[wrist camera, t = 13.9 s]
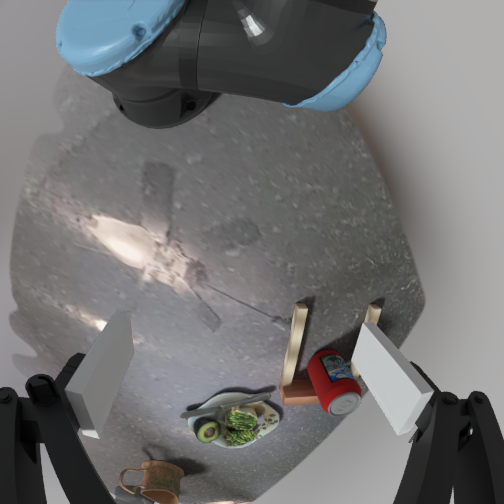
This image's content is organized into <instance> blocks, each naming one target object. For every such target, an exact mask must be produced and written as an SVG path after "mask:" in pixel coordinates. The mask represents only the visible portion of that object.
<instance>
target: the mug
mask: <svg viewBox="0 0 504 504" xmlns="http://www.w3.org/2000/svg"><path fill="white" fill-rule="evenodd" d="M127 470H129V471H141V470H144V477H143V483H142V485H138V486H135V487H134V488H133V490H132V491H131V490H129V489H128V488H126V487H125V486H124V485H123V483H122V479H123V475H124V473H125V472H126V471H127ZM183 477H184V471H183V470H182V469H181V468H180V467H178V466H176V465H174V464H172V463H169V462H165V461H160V460H148V461H145V462H143V464H142V469H138V470H135V469H125V470H124V471H122V473H121V475H120V478H119V484H120V486H121V487H122V488H123V489H124V490H126V491H128V492H130V493H132V494H135V492H136V489H137V487H141V488H142V489H141V494H142V495H144V496H146V497H148V498H149V499H151V500H153V501H155V502H157V503H159V504H178V501H179V500H178V499H179V488H180V479H181V478H183Z"/></svg>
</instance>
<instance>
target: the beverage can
mask: <svg viewBox="0 0 504 504" xmlns="http://www.w3.org/2000/svg"><path fill="white" fill-rule="evenodd" d="M307 371H308V374H309V377H310V379H311V382H312V384H313V387H314V389H315V392H316V394H317V397H318V399H319V401H320V404H321V406H322V408H323V410H324V411H326V412H327V413H329V414H330V415H331V416H333V417H343V416H346V415H349V414H351V413H352V412H354V411H355V410H356V409H357V408H358V407H359V405H360V403H361V388H360V386H359V385H358V383H357V381H356V379H355V378H354V376H353V374H352V373H351V371H350V369H349V368H348V366H347V365H346V363H345V361H344V360H343V358H342V357H341V355H340V354H339V353H338V352H337V351H334V350H324V351H321V352H319V353H317V354H316V355H314V356H313V357H312V358H311V359H310V361H309V363H308V365H307Z"/></svg>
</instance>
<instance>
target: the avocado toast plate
mask: <svg viewBox="0 0 504 504" xmlns="http://www.w3.org/2000/svg"><path fill="white" fill-rule="evenodd" d="M270 397H271V395H270V393H269V392H264V393H259V394H246V393H242V392H224V393H221V394H218V395H216V396H214V397H212V398H211V399H209V400H208V401H207V402H206V403H204V404H203V405H202V406H200V407H198V408H197V409H194V410H190V411H187V412H184V413H182V414H181V416H180V417H181V418H186V420H187V424H188V427H189V428H190V429H191V430H192V431H193V432H194V433H195V435H196V437H197V438H198V439H199V440H200V441H201V442H203V443H211V442H213V443H216V444H217V445H220V446H222V447H225V448H242V447H246V446H248V445H250V444H252V443H253V442H255V441H256V440H258V439H259V438H261V437H263V436H264V435H266V434H268V433H269V432H271V431H272V430H273V429H275V428H276V427H277V426H278V424H279V418H280V414H279V413H278V412H277V411H276V410H275V409H274V408H272V407H271V406H270V405H268V404H267V403H265V402H264V401H263V400H267V399H269V398H270ZM256 412H257V413H261V414H263V415H264V420H263V423H262V424H261V425H260V426H259V427H258V428H257V429H255V430H254V431H253V428H254V427H255V426H256V424H257V414H256Z"/></svg>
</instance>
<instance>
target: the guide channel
mask: <svg viewBox="0 0 504 504" xmlns="http://www.w3.org/2000/svg"><path fill="white" fill-rule="evenodd" d="M307 311H308V308H307V307H306V305H305V303H296V304H295V309H294V315H293V320H292V326H291V331H290V336H289V341H288V346H287V351H286V356H285V361H284V366H283V371H282V376H281V380H280V385H279V390H280V393H281V397H282V401H283V405H303V404H316V403H320V401H319V399H318V397H317V394H316V392H315V389H314V387H313V384H312V382H311V379H293V375H294V371H295V366H296V362H297V358H298V353H299V349H300V344H301V340H302V335H303V331H304V326H305V321H306V316H307ZM380 312H381V308H380V307H378V306H377V305H376V304H369V307H368V311H367V314H366V318H365V321H364V323H368V322H374V323H375V324H376V326H377V323H378V319H379V316H380ZM349 369H350V371H351V373H352V374H353V376H354V378H355V379H356V381H357V380H358V378H359V375H360V374H359V372H358V370H357V369H356V367H355V366H354V364H353V362H352V363H351V366H350V368H349ZM358 385H359V384H358ZM362 392H363V391H362V389H361V394H362Z"/></svg>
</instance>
